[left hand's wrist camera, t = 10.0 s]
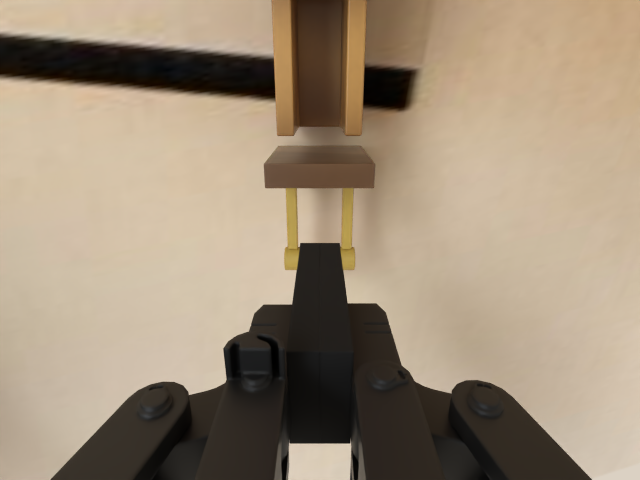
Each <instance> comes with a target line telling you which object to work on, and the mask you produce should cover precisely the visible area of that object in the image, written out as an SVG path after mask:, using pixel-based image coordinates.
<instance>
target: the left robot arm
mask: <svg viewBox="0 0 640 480" xmlns="http://www.w3.org/2000/svg"><path fill="white" fill-rule="evenodd" d="M224 358H225V368H226V377H227V380H226V383H225V384H223V385H221V386H219V387H217V388H214V389H211V390H208V391H205V392H200V393H196V394H192V395H189V394H188V391H187V390H186V389H185V387H184V386H183V385H180V384H178V383H175V382H160V383H155V384H151V385H148V386H146V387H144V388H142V389H140V390H138V391H137V392H136V393H134V394H133V395H132V396H131V397H129V398H128V399H127V400H126V401H125V402H124V403H123V404H122V405H121V406H120V407H119V408H118V410H117V411H116V412H115V413H114V414H113V415H112V416H111V417H110V418H109V419H108V420H107V421H106V422H105V423H104V424H103V425H102V426H101V427H100V428H99V429H98V430H97V432H96V433H95V434H94V435H93V436H92V437H91V438H90V439H89V440H88V441H87V442H86V443H85V444H84V445H83V446H82V447H81V448H80V449H79V450H78V451H77V452H76V454H75V455H74V456H73V457H72V458H71V459H70V460H69V461H68V462H67V463H66V464H65V465H64V466H63V467H62V468H61V469H60V470H59V471H58V472H57V473H56V474H55V476H54V477H53V478H52V479H51V480H288V472H289V439H290V443H350V439H351V447H352V448H351V473H350V480H592V479H591V478H590V477H589V476H588V475H587V474H586V473H585V472H584V471H583V470H582V469H581V468H580V467H579V466H578V465H577V464H576V463H575V462H574V460H573V459H572V458H571V457H570V456H569V455H568V454H567V453H566V452H565V451H564V450H563V449H562V448H561V447H560V446H559V445H558V444H557V443H556V442H555V441H554V440H553V439H552V438H551V437H550V436H549V434H548V433H547V432H546V431H545V430H544V429H543V428H542V427H541V426H540V425H539V424H538V423H537V422H536V421H535V420H534V419H533V418H532V417H531V416H530V415H529V414H528V413H527V412H526V411H525V409H524V408H523V407H522V406H521V405H520V404H519V403H518V402H517V401H516V400H515V399H514V398H513V397H512V396H511V395H509V394H508V393H507V392H506V391H504V390H503V389H502V388H499V387H497V386H495V385H493V384H491V383H488V382H483V381H479V380H467V381H464V382H461V383H459V384H457V385H456V386H455V387H454V389H453V390H452V394H450V393H446V392H442V391H438V390H433V389H430V388H427V387H424V386H422V385H420V384H418V383H416V382H415V381H414V380H413V378H412V376H411V374H410V373H409V371H408V370H406V369H405V368H404V367H403V366H402V365H401V362H400V359H399V355H398V352H397V349H396V345H395V342H394V339H393V335H392V334H391V329H390V325H389V322H388V319H387V315H386V312H385V311H384V310H383V309H381V308H380V307H379V306H378V305H377V304H348V303H347V296H346V288H345V281H344V273H343V265H342V258H341V250H340V243H300V250H299V258H298V265H297V273H296V281H295V288H294V296H293V303H292V305H263V306H262V307H261V308H260V309H259V310H258V311H257V312H256V313H255V314H254V317H253V320H252V324H251V327H250V330H249V332H246V333H243V334H240V335H238V336H236V337H234V338H233V339H231V340H230V341H228V343H227V344H226V346H225V347H224Z"/></svg>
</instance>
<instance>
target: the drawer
mask: <svg viewBox="0 0 640 480" xmlns="http://www.w3.org/2000/svg"><path fill="white" fill-rule="evenodd" d="M366 10H367V0H272V19H273V44H274V69H275V94H276V119H277V135H278V136H294V134H295V133H296V131H297V130H298V128H299V127H341V129H342V130H343V132H344V134H345V135H346V136H360V135H361V134H362V116H363V90H364V63H365V37H366ZM264 176H265V188H286V206H287V236H288V247H285V254H284V264H285V270H297V265H298V258H299V250H300V247H298V220H297V188H343V191H342V238H341V246H342V247H340V250H341V258H342V265H343V270H354V268H355V249H354V247H352V217H353V188H374V177H375V163H374V162H373V161H372V160H371V158H370V157H369V156H368V154H367V153H366V152H365V151H364V149H363V148H362V147H361V146H278V147H277V149H276V150H275V151H274V152H273V153H272V155H271V156H270V157H269V158H268V160H267V161H266V162H265V163H264Z"/></svg>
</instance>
